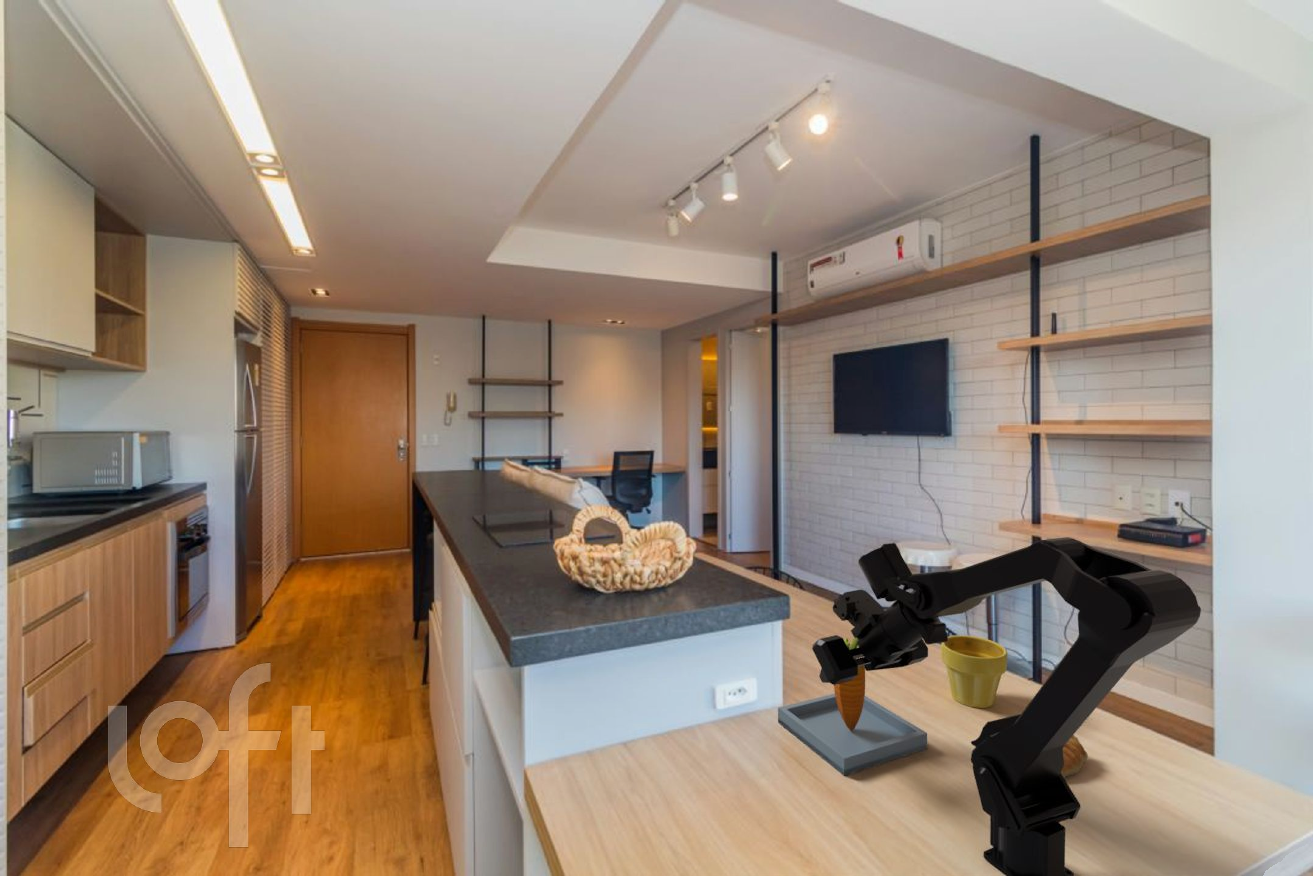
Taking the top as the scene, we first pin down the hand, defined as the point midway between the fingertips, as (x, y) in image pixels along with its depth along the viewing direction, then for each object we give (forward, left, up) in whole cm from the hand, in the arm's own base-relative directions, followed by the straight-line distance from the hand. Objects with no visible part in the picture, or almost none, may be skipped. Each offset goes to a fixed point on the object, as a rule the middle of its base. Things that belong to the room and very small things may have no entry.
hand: (843, 673), depth 96 cm
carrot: (-1, 0, -9) cm, 9 cm away
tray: (-1, 0, -10) cm, 10 cm away
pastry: (-20, -23, -10) cm, 32 cm away
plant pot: (-1, -28, -10) cm, 30 cm away
